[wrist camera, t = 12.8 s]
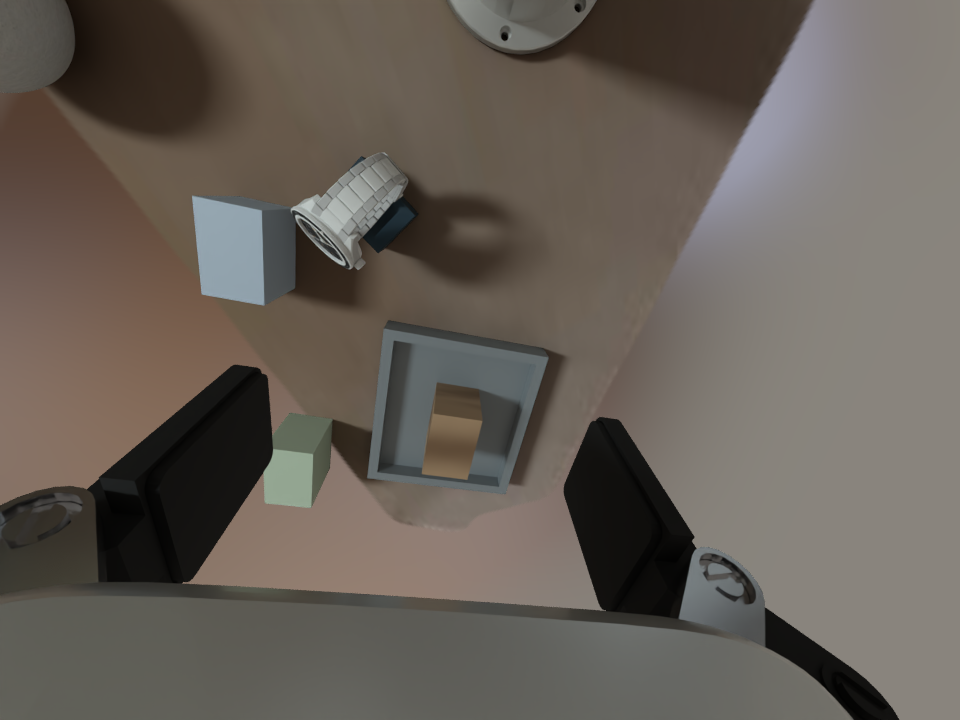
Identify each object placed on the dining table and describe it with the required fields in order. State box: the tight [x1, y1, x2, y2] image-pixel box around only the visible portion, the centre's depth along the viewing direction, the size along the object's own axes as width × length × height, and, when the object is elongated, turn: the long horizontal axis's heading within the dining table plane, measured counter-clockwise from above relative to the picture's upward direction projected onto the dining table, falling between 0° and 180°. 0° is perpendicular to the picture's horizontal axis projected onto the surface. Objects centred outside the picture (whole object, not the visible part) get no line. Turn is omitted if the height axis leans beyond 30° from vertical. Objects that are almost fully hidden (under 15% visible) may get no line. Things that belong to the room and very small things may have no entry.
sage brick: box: [264, 413, 333, 508], centre depth 38 cm, size 7×4×6 cm, turn 168°
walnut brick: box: [422, 382, 483, 480], centre depth 36 cm, size 7×4×6 cm, turn 168°
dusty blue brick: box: [192, 196, 296, 305], centre depth 29 cm, size 7×4×6 cm, turn 168°
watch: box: [291, 153, 418, 270], centre depth 26 cm, size 6×8×11 cm
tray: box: [367, 320, 549, 494], centre depth 39 cm, size 18×16×2 cm
